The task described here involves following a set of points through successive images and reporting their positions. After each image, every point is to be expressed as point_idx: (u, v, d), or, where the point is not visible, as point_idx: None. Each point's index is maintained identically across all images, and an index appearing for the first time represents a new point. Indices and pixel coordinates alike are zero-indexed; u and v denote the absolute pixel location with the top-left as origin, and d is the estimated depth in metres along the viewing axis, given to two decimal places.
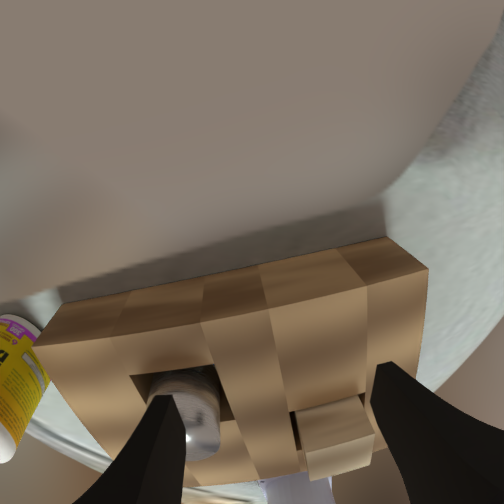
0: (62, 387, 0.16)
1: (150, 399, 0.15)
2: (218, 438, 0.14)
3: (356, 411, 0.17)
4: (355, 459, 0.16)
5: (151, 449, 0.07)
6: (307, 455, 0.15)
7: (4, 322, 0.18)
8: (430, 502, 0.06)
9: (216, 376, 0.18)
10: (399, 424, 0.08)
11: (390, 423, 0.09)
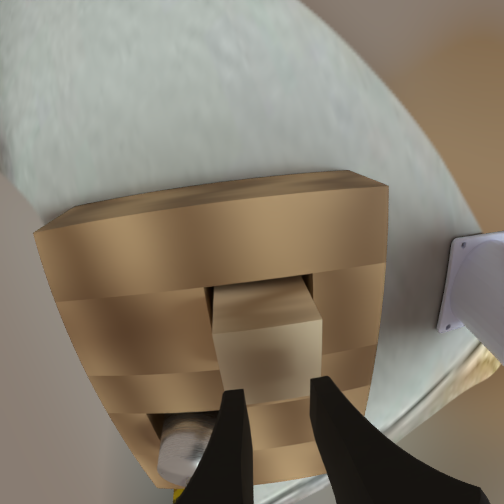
0: None
1: None
2: (184, 457, 0.14)
3: None
4: (282, 348, 0.12)
5: (240, 445, 0.07)
6: None
7: None
8: None
9: None
10: (328, 443, 0.08)
11: (322, 440, 0.09)
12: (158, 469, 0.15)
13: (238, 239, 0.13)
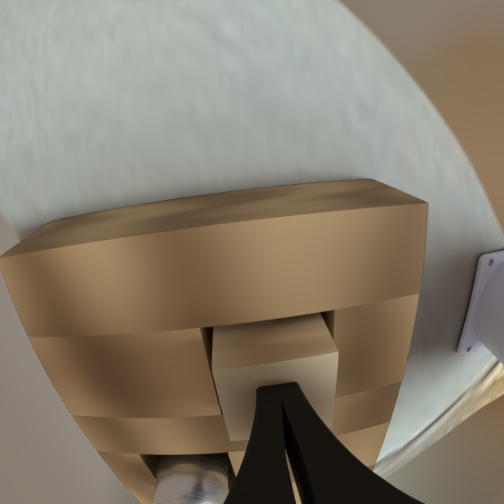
0: None
1: None
2: None
3: None
4: None
5: (283, 440, 0.07)
6: (238, 439, 0.11)
7: None
8: None
9: None
10: (291, 450, 0.08)
11: (288, 447, 0.09)
12: None
13: (243, 270, 0.10)
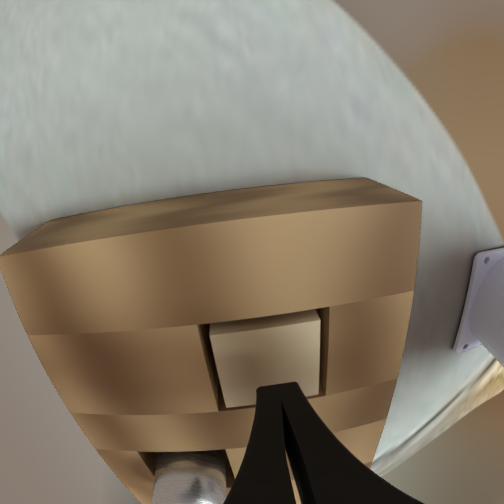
0: None
1: None
2: (180, 502, 0.11)
3: None
4: (280, 349, 0.12)
5: (283, 440, 0.07)
6: (233, 405, 0.13)
7: None
8: None
9: None
10: (291, 450, 0.08)
11: (288, 447, 0.09)
12: None
13: (239, 268, 0.11)
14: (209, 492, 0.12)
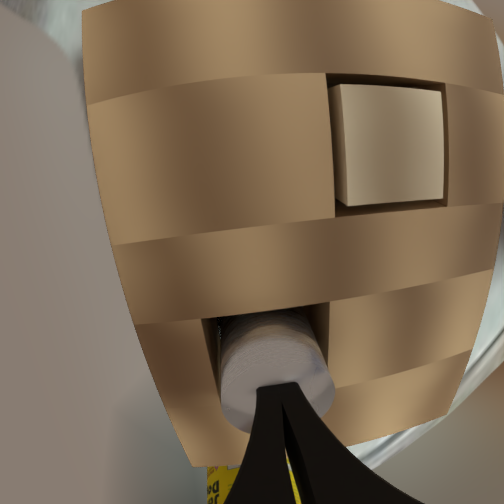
0: None
1: None
2: (278, 362, 0.10)
3: None
4: (409, 117, 0.09)
5: (283, 440, 0.07)
6: (357, 202, 0.10)
7: None
8: None
9: None
10: (292, 450, 0.08)
11: (288, 447, 0.09)
12: (223, 399, 0.10)
13: (367, 21, 0.08)
14: (313, 352, 0.11)
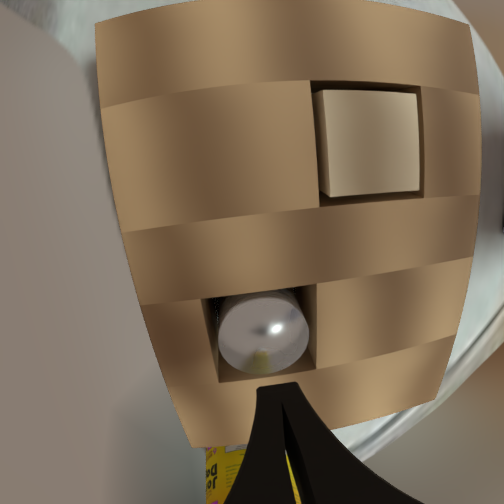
0: (243, 439, 0.17)
1: None
2: (262, 302, 0.13)
3: None
4: (385, 118, 0.11)
5: (283, 440, 0.07)
6: (338, 194, 0.12)
7: (206, 447, 0.22)
8: None
9: None
10: (291, 450, 0.08)
11: (288, 447, 0.09)
12: (220, 336, 0.14)
13: (348, 33, 0.10)
14: (290, 299, 0.14)
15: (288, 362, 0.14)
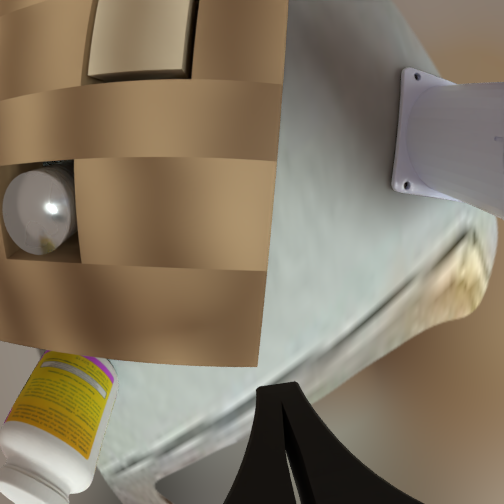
0: (35, 341, 0.15)
1: None
2: (30, 172, 0.12)
3: None
4: (151, 6, 0.10)
5: (283, 440, 0.07)
6: (95, 72, 0.10)
7: None
8: None
9: (63, 161, 0.16)
10: (291, 450, 0.08)
11: (288, 447, 0.09)
12: (3, 203, 0.12)
13: None
14: (61, 179, 0.13)
15: (53, 245, 0.13)
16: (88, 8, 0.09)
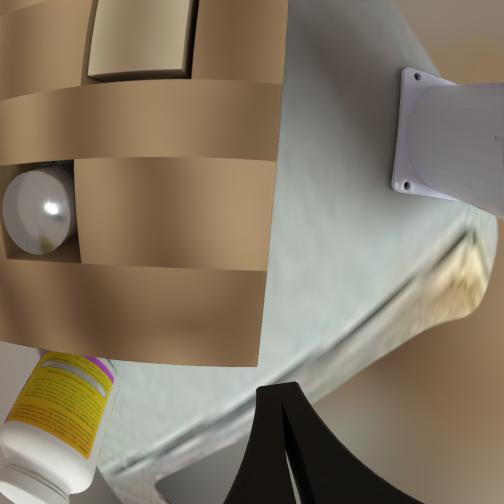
0: (35, 341, 0.15)
1: None
2: (30, 172, 0.12)
3: None
4: (151, 6, 0.10)
5: (283, 440, 0.07)
6: (95, 72, 0.10)
7: None
8: None
9: (63, 161, 0.16)
10: (291, 450, 0.08)
11: (288, 447, 0.09)
12: (3, 203, 0.12)
13: None
14: (61, 179, 0.13)
15: (53, 245, 0.13)
16: (88, 8, 0.09)
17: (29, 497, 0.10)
